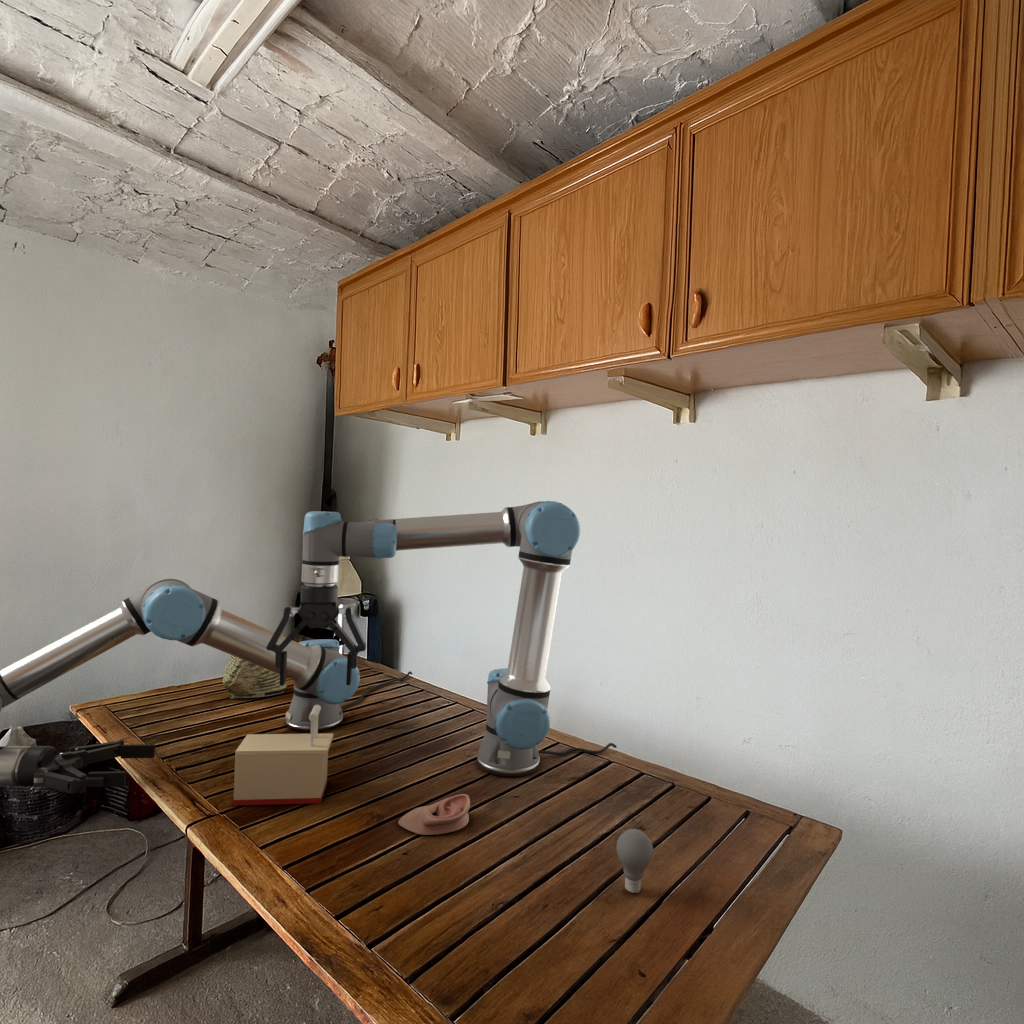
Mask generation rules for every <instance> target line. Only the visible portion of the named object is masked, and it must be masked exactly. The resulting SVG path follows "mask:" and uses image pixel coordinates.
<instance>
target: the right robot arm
mask: <svg viewBox="0 0 1024 1024" xmlns="http://www.w3.org/2000/svg"><path fill="white" fill-rule="evenodd" d="M580 536H581V525H580V521H579V518H578V517H577V515H576V514H575V512H574V511H573V510H572V509H571V508H570V507H568V506H567V505H566V504H563V503H562V502H558V501H555V500H553V501H552V500H546V501H545V500H544V501H543V500H542V501H541V500H540V501H535V502H532V503H527V504H522V505H517V506H507V507H506V506H505V507H504V508H503V509H502V510H501V511H495V512H494V511H492V512H479V513H465V514H464V513H463V514H462V513H461V514H450V515H433V516H420V517H404V518H403V517H402V518H395V519H394V518H389V519H368V520H367V521H364V522H363V521H361V522H360V521H354V522H353V521H345V520H342V516H341V514H340V512H338V511H323V510H322V511H321V510H319V511H318V510H317V511H316V510H315V511H313V510H312V511H308V512H306V514H305V515H304V519H303V531H302V555H301V556H302V559H301V580H300V582H302V583H303V584H302V585H301V586H300V605H299V606H293V605H291V604H288V605H287V606H285V607H284V608H283V609H284V610H283V614H282V615H283V616H282V619H281V620H280V622H279V624H278V626H277V627H276V629H275V631H274V634H273V636H272V638H271V640H270V641H269V643H268V645H267V647H266V649H267V650H269V651H270V650H271V651H273V652H275V654H276V656H275V667H276V668H280V685H284V683H285V682H286V683H287V677H286V666H287V651H283V649H284V648H285V647H286V646H287V645H288V644H289V643H290V642H291V641H292V640H293V641H294V639H295V638H296V637H297V636H298V635H299V634H300V632H302V631H303V629H304V628H305V627H307V628H309V629H324V630H325V629H327V628H329V629H330V630H331V631H333V633H334V634H335V635H336V637H337V638H339V640H340V641H341V642H342V644H343V645H344V646H345V647H346V648H347V650H348V653H347V656H346V658H347V680H346V685H350V684H351V675H352V669H355V668H356V666H357V667H358V654H359V653H361V652H365V651H366V650H367V643H366V641H365V639H364V636H363V634H362V632H361V630H360V629H359V626H358V624H357V622H356V620H355V618H354V612H353V607H352V606H351V605H349V606H347V607H340V606H339V605H338V600H339V599H338V598H339V597H338V596H339V586H338V585H337V583H338V582H339V574H340V573H339V572H340V557H342V558H347V557H349V558H350V557H351V558H367V559H369V558H370V559H371V558H372V559H378V560H379V559H380V560H381V559H393V558H394V557H395V556H396V554H397V551H410V550H425V549H426V550H427V549H438V548H439V549H440V548H441V549H442V548H454V547H469V546H483V545H484V546H485V545H496V544H497V545H498V544H503V545H504V546H505V547H507V548H515V547H517V548H518V547H519V551H518V556H517V559H518V560H519V561H520V563H521V564H522V566H523V569H522V574H521V575H522V576H521V582H520V588H519V593H518V594H519V595H518V599H517V600H518V601H517V607H516V614H515V620H514V625H513V633H512V637H511V638H512V639H511V645H510V652H509V658H508V664H507V668H505V667H504V668H495V669H492V670H490V671H489V673H488V677H487V682H486V684H487V695H486V696H487V697H486V718H485V719H486V720H485V732H484V735H483V737H482V741H481V743H480V746H479V747H478V748H479V749H478V752H477V754H476V764H477V766H478V767H479V769H481V770H482V771H484V772H485V773H488V774H491V775H495V776H498V777H499V776H500V777H511V778H512V777H513V778H514V777H523V776H527V775H529V774H533V773H534V772H536V771H537V770H538V769H539V768H540V763H541V762H540V761H541V759H540V758H541V757H540V754H543V755H544V754H545V755H552V756H553V755H554V756H563V755H567V754H568V753H571V752H583V753H587V754H593V755H594V754H595V755H598V754H602V753H604V752H606V751H607V750H608V749H609V748H610V747H613V749H616V748H618V747H617V744H615V743H613V742H609V743H608V744H606V745H605V746H604V747H603V748H601V749H599V750H592V749H586V748H582V747H570V748H568V749H566V750H563V751H552V750H543V749H541V750H540V749H538V746H539V745H540V744H541V743H542V742H543V741H545V739H546V737H547V736H548V734H549V732H550V727H551V720H550V719H551V717H550V713H549V711H548V708H549V702H550V694H551V685H550V683H549V682H548V680H547V679H546V677H547V676H546V675H547V669H548V664H549V658H550V657H549V656H550V652H551V651H550V650H551V649H550V648H551V645H552V638H553V631H554V625H555V619H556V611H557V607H558V606H557V605H558V600H559V594H560V593H559V592H560V587H561V579H562V574H563V572H564V571H565V570H567V569H568V568H569V567H570V566H571V560H572V555H573V551H574V549H575V548H576V546H577V545H578V543H579V540H580ZM296 614H297V615H298V616H299V618H300V619H301V622H299V624H297V625H296V627H294V629H293V630H292V631H291V632H290V633H289V634H288V635H287V637H286V639H285V640H284V641H283V642H282V643H281V644H280V645H277V644H276V643H277V641H278V639H279V638H280V636H282V635H283V632H284V631H285V628H286V627H287V625H288V623H289V622H290V621H291V620H290V619H291V618H293V617H295V615H296ZM339 614H340V615H341V616H342V618H344V619H345V620H346V623H347V625H348V628H349V630H350V631H351V633H352V636H353V638H354V640H355V642H356V644H357V645H356V644H355V642H354V641H353V639H351V637H350V636H349V635H348V634H347V632H346V631H345V630H344V629H343V628H342V626H341V625H340V624H339V622H338V621H337V619H336V618H338V616H339Z"/></svg>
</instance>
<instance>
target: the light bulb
mask: <svg viewBox="0 0 1024 1024" xmlns="http://www.w3.org/2000/svg"><path fill="white" fill-rule="evenodd" d="M615 849H616V854H617V857H618V859H619V861H620V863H621V865H622V867H623V873H624V874H623V875H624V876H625V878H624V888H625V890H627V891H628V892H630V893H634V894H635V893H639V892H640V891H641V889H642V887H641V886H642V879H643V877H644V875H645V871H646V868H647V867H648V866H649V864H650V863H651V861H652V859H653V855H654V847H653V843H652V841H651V838H649V836H648V835H647V834H646V833H645V832H643V831H642V830H641V829H636V828H629V829H627V830H625V831H623V832H622V833H621V834H620V835H619V837H618V839H617V841H616V847H615Z"/></svg>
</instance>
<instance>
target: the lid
mask: <svg viewBox="0 0 1024 1024" xmlns="http://www.w3.org/2000/svg"><path fill="white" fill-rule="evenodd" d="M320 710H321V706H320V705H315V706H314V707H313V709H312V711H311V713H310V715H309V720H310V721H311V732H310V733H253V734H252V733H249V734H247V735H245V737H244V738H243V739H242V741H241V743H240V744H239V745H238V747H237V748H236V750H234V751H235V753H234V754H235V755H283V754H327V753H328V754H329V750H330V747H331V745H332V742H333V738H334V733H319V731H318V715H319V712H320Z"/></svg>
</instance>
